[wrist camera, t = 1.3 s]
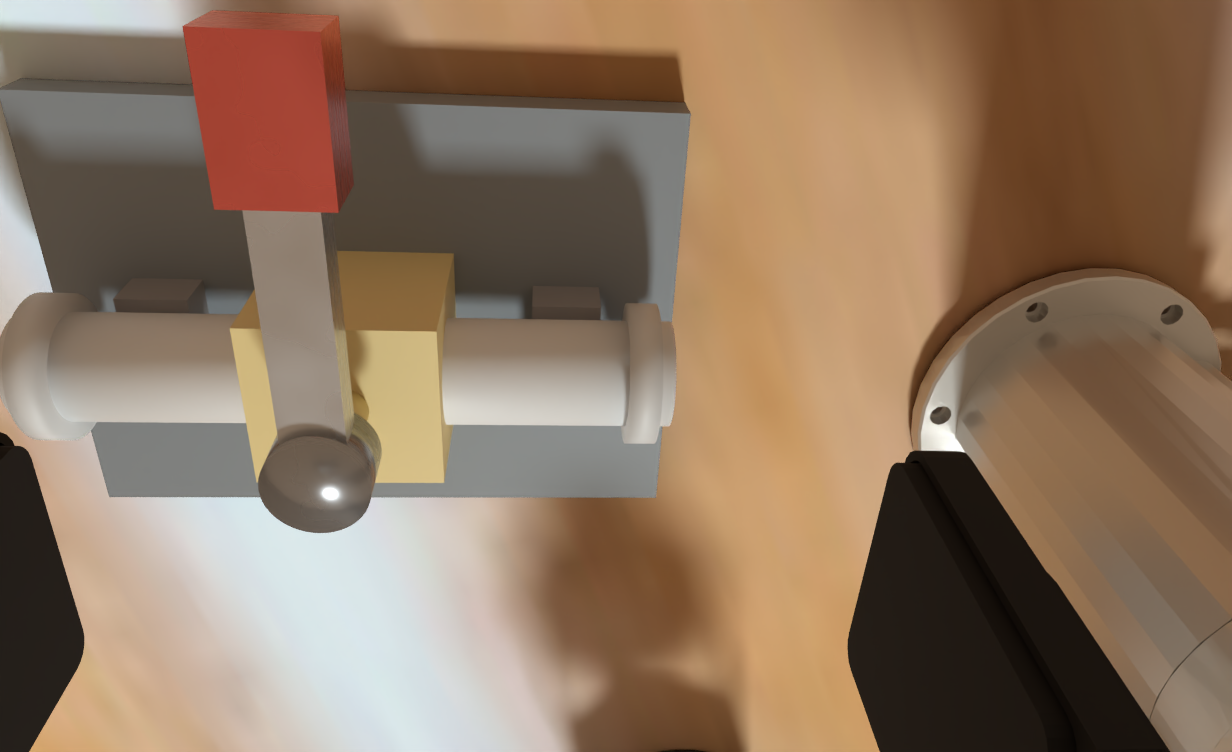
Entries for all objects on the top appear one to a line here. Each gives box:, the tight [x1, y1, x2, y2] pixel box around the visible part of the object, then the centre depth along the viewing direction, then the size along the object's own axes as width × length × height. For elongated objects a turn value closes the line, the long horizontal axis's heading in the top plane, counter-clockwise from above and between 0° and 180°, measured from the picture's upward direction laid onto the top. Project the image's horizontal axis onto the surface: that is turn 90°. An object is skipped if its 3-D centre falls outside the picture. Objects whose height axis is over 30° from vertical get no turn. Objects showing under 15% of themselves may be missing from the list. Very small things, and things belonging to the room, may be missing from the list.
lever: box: [183, 10, 382, 533], centre depth 24 cm, size 14×3×2 cm, turn 177°
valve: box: [0, 79, 691, 498], centre depth 32 cm, size 22×16×9 cm
